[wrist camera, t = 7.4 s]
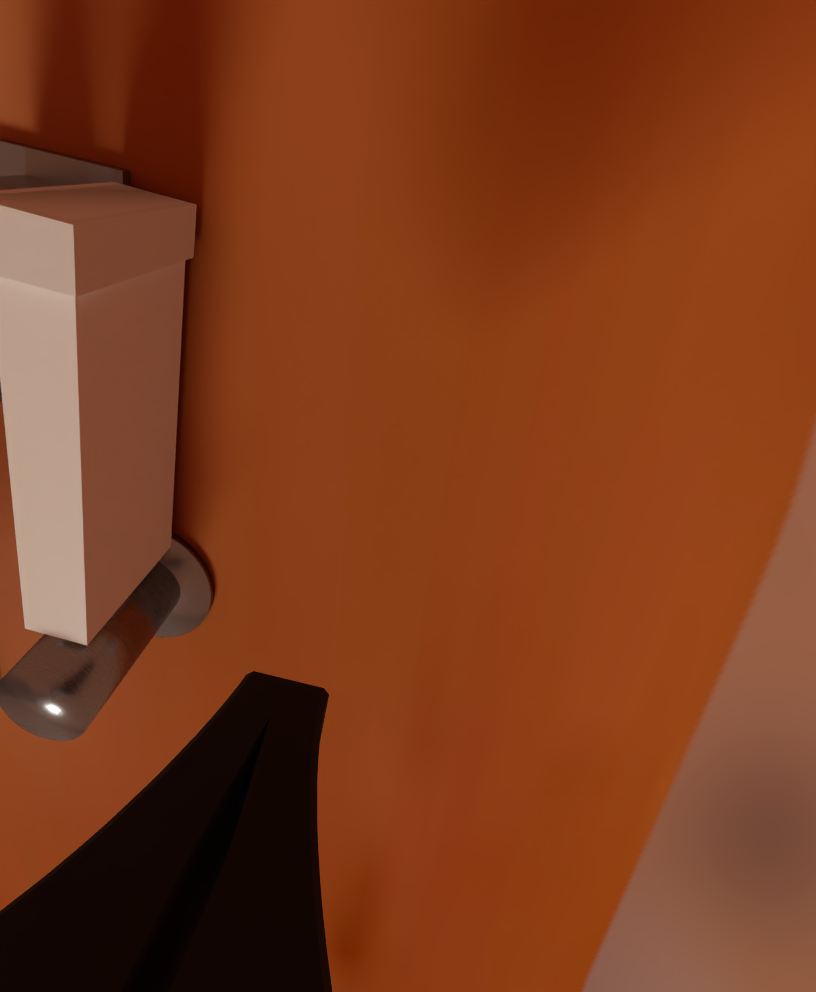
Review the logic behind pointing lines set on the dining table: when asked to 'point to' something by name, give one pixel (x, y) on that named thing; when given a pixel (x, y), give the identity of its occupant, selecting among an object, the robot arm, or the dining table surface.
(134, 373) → the lipped cream column
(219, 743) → the robot arm
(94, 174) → the latch block
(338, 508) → the dining table surface
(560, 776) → the dining table surface
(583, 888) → the dining table surface
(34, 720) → the pivot post
